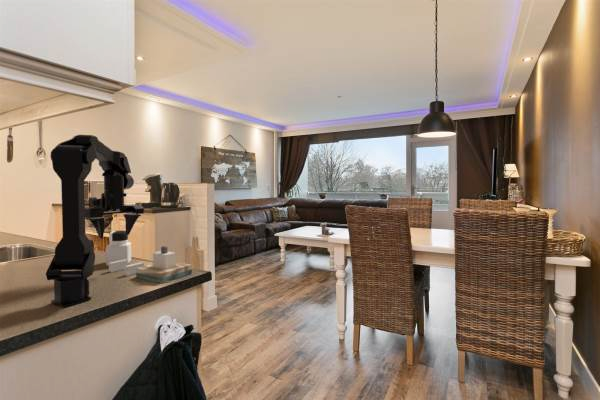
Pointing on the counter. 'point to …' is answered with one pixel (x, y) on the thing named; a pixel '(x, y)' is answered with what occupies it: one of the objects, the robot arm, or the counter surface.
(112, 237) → the medicine bottle
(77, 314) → the counter surface
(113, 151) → the robot arm
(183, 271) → the port block
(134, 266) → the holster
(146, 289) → the counter surface
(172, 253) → the plug
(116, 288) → the counter surface
